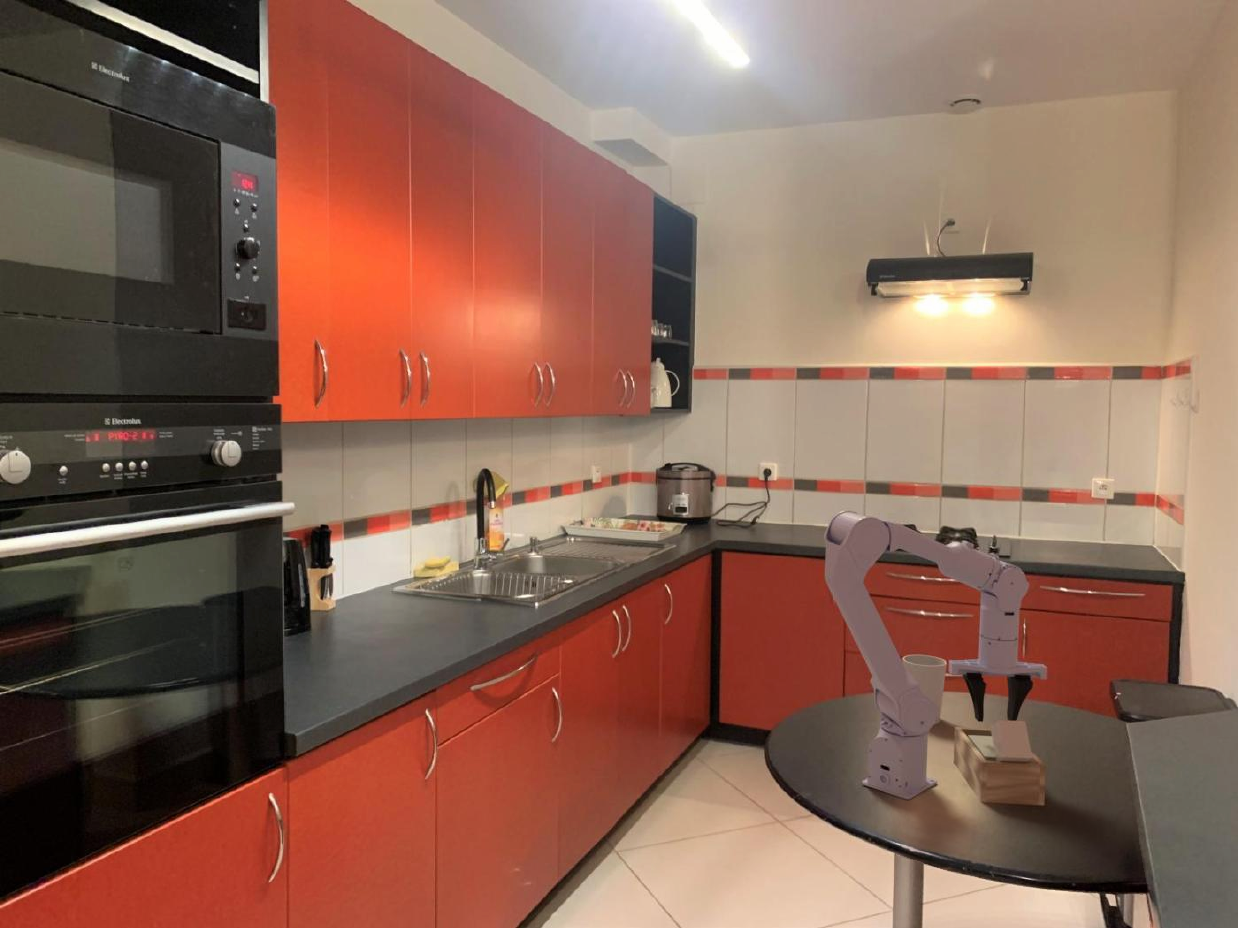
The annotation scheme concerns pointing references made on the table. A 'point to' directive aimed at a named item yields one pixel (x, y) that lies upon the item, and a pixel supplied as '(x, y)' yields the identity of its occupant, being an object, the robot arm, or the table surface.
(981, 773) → the box
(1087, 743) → the table surface
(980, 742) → the pale grey flat block
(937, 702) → the cup
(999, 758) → the pinkish beige block
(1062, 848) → the table surface
